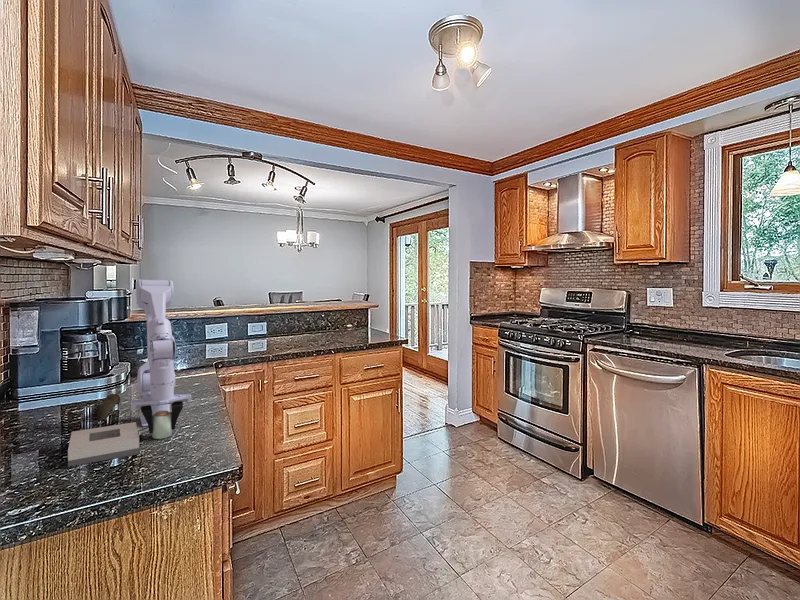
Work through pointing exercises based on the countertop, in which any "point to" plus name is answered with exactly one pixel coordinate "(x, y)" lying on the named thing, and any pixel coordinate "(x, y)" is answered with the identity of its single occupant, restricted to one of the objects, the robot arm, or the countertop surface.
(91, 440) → the beige square slab
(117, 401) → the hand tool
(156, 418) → the cylinder with orange cap
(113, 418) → the countertop surface
